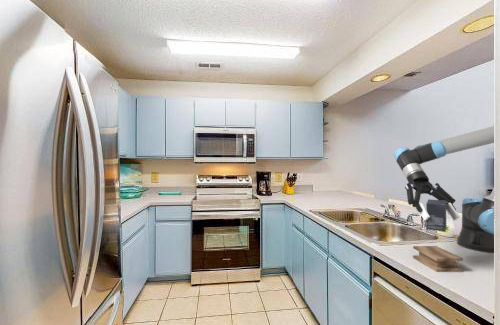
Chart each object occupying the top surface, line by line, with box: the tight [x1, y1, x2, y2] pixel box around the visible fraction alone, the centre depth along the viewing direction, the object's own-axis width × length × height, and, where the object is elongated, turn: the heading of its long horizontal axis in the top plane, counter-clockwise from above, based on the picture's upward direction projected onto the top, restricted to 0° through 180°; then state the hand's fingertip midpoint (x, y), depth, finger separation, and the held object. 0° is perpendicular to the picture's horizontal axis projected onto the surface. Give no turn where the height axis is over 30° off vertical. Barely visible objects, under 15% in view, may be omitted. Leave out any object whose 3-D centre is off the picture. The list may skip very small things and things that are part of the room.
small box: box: [425, 198, 447, 232], centre depth 100 cm, size 11×6×10 cm, turn 141°
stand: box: [412, 245, 464, 273], centre depth 100 cm, size 10×13×5 cm
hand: (442, 218), depth 97 cm, fingers closed on small box, 11 cm apart
